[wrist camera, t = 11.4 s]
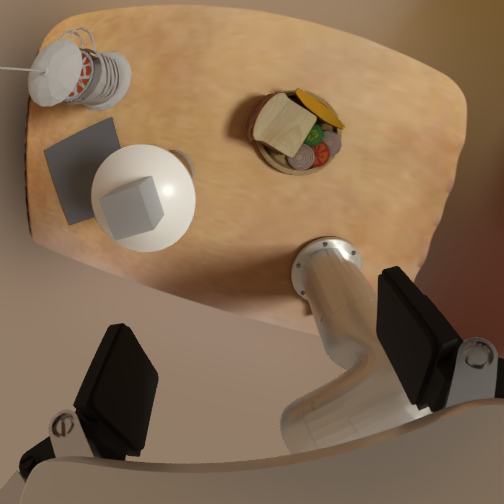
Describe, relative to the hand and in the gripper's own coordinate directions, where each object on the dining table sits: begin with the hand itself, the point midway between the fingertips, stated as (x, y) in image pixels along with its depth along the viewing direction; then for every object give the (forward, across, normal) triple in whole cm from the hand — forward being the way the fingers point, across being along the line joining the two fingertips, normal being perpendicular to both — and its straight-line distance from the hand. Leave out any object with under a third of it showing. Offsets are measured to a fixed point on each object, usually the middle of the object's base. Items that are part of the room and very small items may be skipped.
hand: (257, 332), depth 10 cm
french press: (+34, +17, -20) cm, 43 cm away
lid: (+19, +10, -2) cm, 22 cm away
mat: (+34, +24, -6) cm, 42 cm away
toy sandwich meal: (+35, -8, -3) cm, 36 cm away
